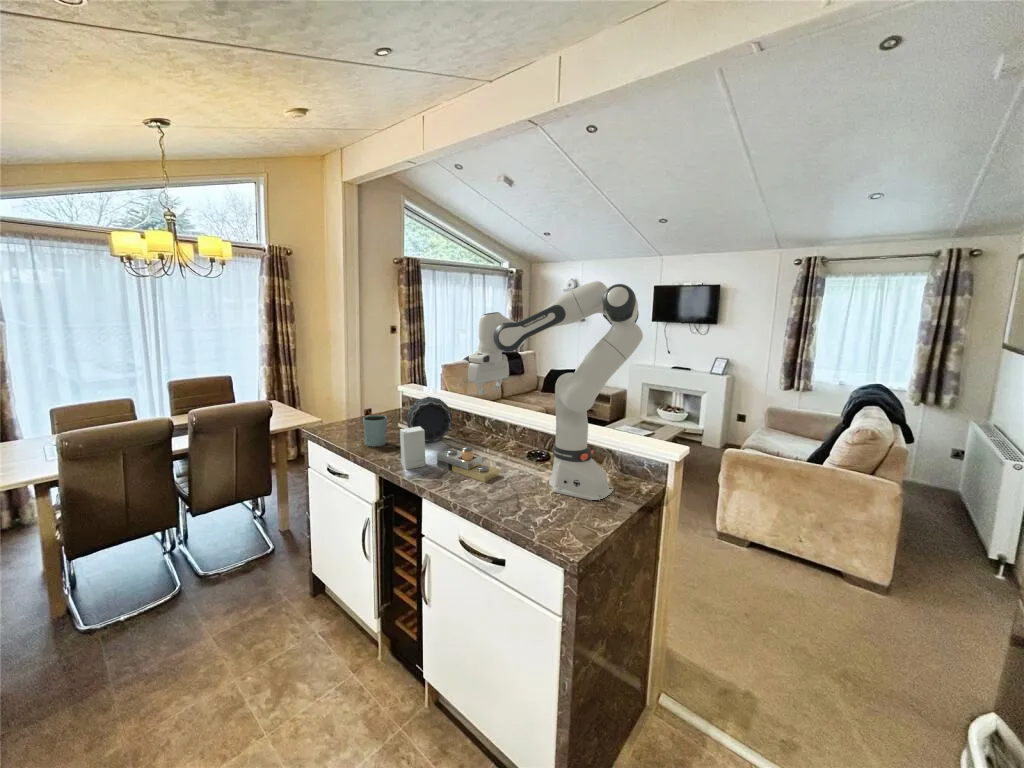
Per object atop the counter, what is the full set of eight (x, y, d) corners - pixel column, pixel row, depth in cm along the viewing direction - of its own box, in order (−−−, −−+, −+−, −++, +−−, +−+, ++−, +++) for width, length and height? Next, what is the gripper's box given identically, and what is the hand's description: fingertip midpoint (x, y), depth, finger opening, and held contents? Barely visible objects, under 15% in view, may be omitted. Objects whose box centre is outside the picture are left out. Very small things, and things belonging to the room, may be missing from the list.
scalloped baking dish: (406, 438, 203) (405, 396, 199) (449, 435, 209) (449, 394, 205) (408, 445, 193) (407, 401, 189) (453, 442, 199) (453, 399, 195)
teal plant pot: (358, 445, 191) (357, 418, 189) (374, 439, 200) (373, 413, 198) (377, 448, 187) (376, 421, 185) (392, 442, 197) (391, 416, 194)
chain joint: (498, 475, 162) (499, 460, 161) (484, 482, 155) (484, 466, 154) (452, 460, 176) (451, 446, 175) (437, 466, 170) (437, 451, 168)
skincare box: (421, 461, 174) (420, 425, 171) (426, 467, 168) (425, 429, 166) (400, 465, 169) (399, 428, 167) (404, 470, 164) (403, 432, 162)
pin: (475, 470, 166) (475, 447, 164) (467, 473, 163) (467, 450, 161) (467, 467, 168) (467, 445, 167) (459, 470, 165) (460, 448, 164)
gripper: (500, 353, 175) (500, 387, 177) (465, 357, 159) (465, 394, 161) (513, 354, 171) (512, 389, 173) (478, 358, 155) (478, 397, 157)
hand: (489, 392), depth 167 cm, fingers open, 8 cm apart
